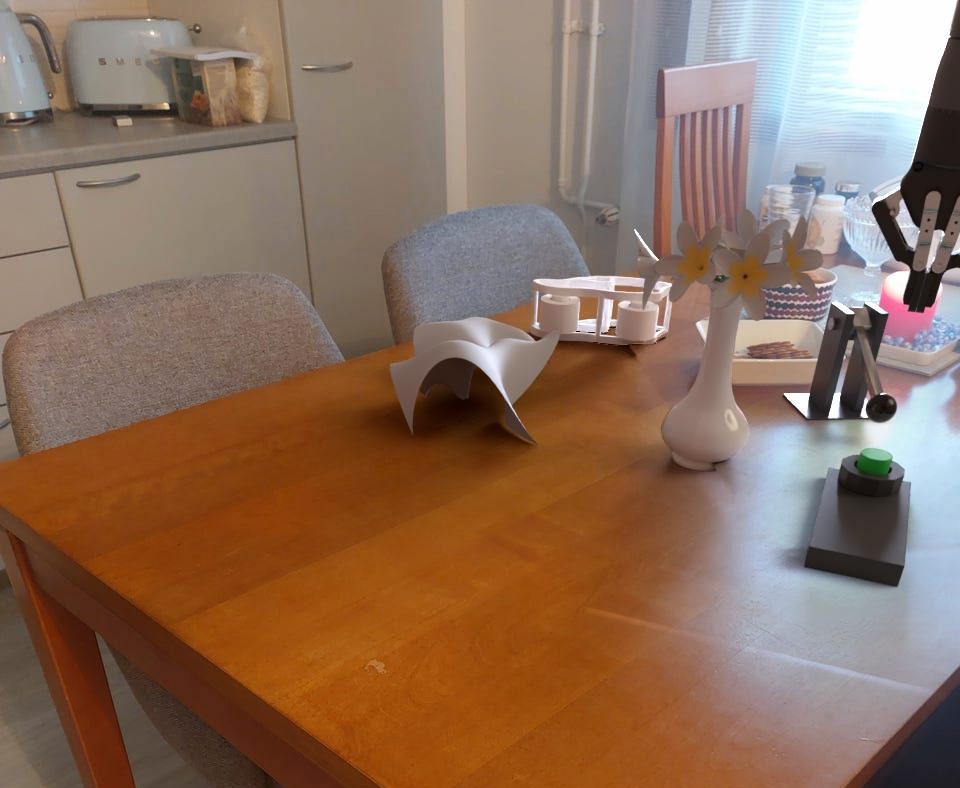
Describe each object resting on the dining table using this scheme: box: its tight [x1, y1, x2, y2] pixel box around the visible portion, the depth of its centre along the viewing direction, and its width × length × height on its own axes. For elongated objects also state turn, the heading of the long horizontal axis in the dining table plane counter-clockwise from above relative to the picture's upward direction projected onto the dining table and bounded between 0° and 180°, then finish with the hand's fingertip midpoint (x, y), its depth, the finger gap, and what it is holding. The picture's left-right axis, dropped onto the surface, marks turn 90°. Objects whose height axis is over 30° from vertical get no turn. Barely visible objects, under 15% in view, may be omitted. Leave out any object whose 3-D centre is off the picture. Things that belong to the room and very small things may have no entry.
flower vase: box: [633, 207, 825, 472], centre depth 94 cm, size 13×18×25 cm
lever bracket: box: [782, 302, 890, 421], centre depth 109 cm, size 8×10×13 cm
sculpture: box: [389, 316, 560, 446], centre depth 111 cm, size 25×19×10 cm
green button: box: [856, 447, 894, 475], centre depth 91 cm, size 3×3×2 cm
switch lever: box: [847, 306, 898, 424], centre depth 104 cm, size 15×3×3 cm
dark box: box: [803, 454, 912, 588], centre depth 88 cm, size 19×8×4 cm, turn 157°
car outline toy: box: [529, 275, 673, 344], centre depth 133 cm, size 20×11×7 cm, turn 78°
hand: (915, 310), depth 88 cm, fingers closed
